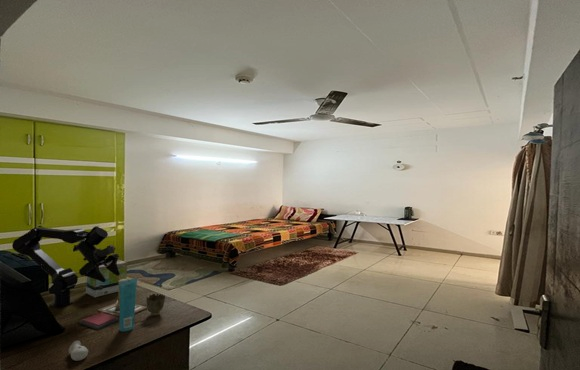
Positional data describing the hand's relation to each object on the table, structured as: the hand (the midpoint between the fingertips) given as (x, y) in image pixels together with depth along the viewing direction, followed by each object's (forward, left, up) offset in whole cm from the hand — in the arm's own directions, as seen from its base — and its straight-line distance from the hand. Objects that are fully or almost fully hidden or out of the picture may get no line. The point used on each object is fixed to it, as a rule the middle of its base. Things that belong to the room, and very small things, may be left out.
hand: (112, 278), depth 134 cm
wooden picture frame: (+6, +2, -14) cm, 15 cm away
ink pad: (+8, -10, -14) cm, 19 cm away
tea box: (-20, +13, -14) cm, 28 cm away
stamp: (+5, +2, -13) cm, 14 cm away
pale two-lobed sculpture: (+24, -29, -14) cm, 40 cm away
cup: (+22, +5, -14) cm, 26 cm away
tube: (+22, -9, -14) cm, 27 cm away
